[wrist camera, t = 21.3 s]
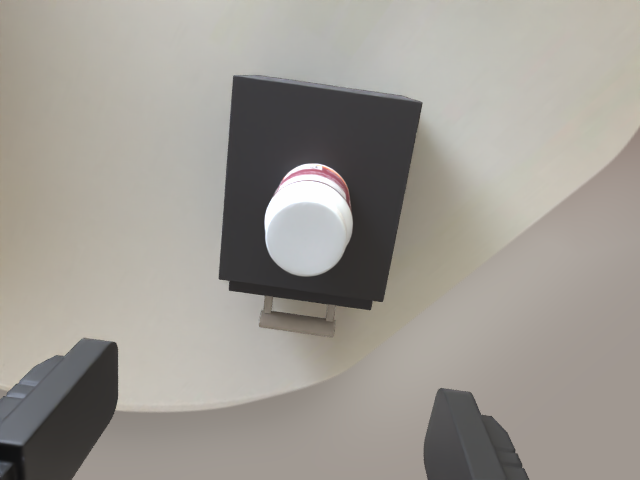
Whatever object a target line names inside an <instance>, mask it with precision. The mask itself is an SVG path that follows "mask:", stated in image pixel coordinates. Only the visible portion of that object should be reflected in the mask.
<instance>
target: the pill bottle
mask: <svg viewBox="0 0 640 480" xmlns="http://www.w3.org/2000/svg"><path fill="white" fill-rule="evenodd" d="M352 231H353V218H352V211H351V203H350V196H349V191H348V187H347V185H346V183H345V181H344V180H343V178H342V177H341V176H340V175H339V174H338V173H337V172H336V171H334V170H333V169H331V168H329V167H327V166H325V165H321V164H305V165H301V166H299V167H296V168H295V169H293V170H292V171H290V172H289V173H288V174H287V175H286V176H285V177H284V178H283V180H282V181H281V183H280V185H279V187H278V189H277V190H276V192H275V194H274V196H273V198H272V200H271V202H270V203H269V206H268V208H267V210H266V214H265V232H266V235H265V239H266V246H267V249H268V252H269V254H270V256H271V258H272V259H273V260H274V262H275V263H276V264H277V265H278V266H279V267H281V268H282V269H283V270H285V271H287V272H289V273H291V274H294V275H298V276H316V275H319V274H322V273H325V272H326V271H328V270H330V269H331V268H332V267H334V266H335V265H336V264H337V263H338V261H339V260H340V259H341V257H342V255H343V253H344V251H345V248H346V246H347V245H348V243H349V241H350V238H351V235H352Z"/></svg>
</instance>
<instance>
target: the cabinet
mask: <svg viewBox="0 0 640 480" xmlns="http://www.w3.org/2000/svg"><path fill="white" fill-rule="evenodd" d="M421 108H422V102H420V101H417V100H414V99H411V98H408V97H404V96H401V95H394V94H387V93H380V92H373V91H366V90H359V89H352V88H345V87H338V86H331V85H324V84H317V83H310V82H303V81H296V80H289V79H282V78H275V77H268V76H261V75H234V76H233V86H232V100H231V114H230V128H229V142H228V156H227V170H226V184H225V198H224V212H223V225H222V239H221V253H220V267H219V279H220V280H228V281H235V282H242V283H249V284H256V285H263V286H271V287H278V288H285V289H292V290H299V291H307V292H314V293H321V294H328V295H335V296H343V297H350V298H357V299H364V300H371V301H378V302H383V300H384V295H385V290H386V285H387V280H388V275H389V269H390V264H391V259H392V254H393V249H394V244H395V239H396V234H397V229H398V224H399V219H400V214H401V209H402V204H403V199H404V194H405V189H406V184H407V178H408V173H409V168H410V163H411V158H412V153H413V148H414V143H415V138H416V133H417V128H418V123H419V118H420V113H421ZM305 164H321V165H325V166H327V167H329V168H331V169H333V170H334V171H336V172H337V173H338V174H339V175H340V176H341V177H342V178H343V180H344V181H345V183H346V185H347V187H348V191H349V196H350V203H351V211H352V218H353V231H352V235H351V238H350V241H349V243H348V245H347V246H346V248H345V251H344V253H343V255H342V257H341V259H340V260H339V261H338V263H337V264H336V265H335V266H334V267H332V268H331V269H330V270H328V271H326V272H325V273H322V274H319V275H316V276H298V275H294V274H291V273H289V272H287V271H285V270H283V269H282V268H281V267H279V266H278V265H277V264H276V263H275V262H274V260H273V259H272V258H271V256H270V254H269V252H268V249H267V246H266V239H265V235H266V232H265V214H266V210H267V208H268V206H269V203H270V202H271V200H272V198H273V196H274V194H275V192H276V190H277V189H278V187H279V185H280V183H281V181H282V180H283V178H284V177H285V176H286V175H287V174H288V173H289V172H290V171H292V170H293V169H295V168H296V167H299V166H301V165H305Z"/></svg>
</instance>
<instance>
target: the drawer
mask: <svg viewBox="0 0 640 480" xmlns="http://www.w3.org/2000/svg"><path fill="white" fill-rule="evenodd" d="M229 291H236V292H243V293H250V294H258V295H265V301H264V310H262V311H261V314H260V320H259V327H262V328H269V329H276V330H283V331H291V332H298V333H305V334H312V335H320V336H327V337H333V336H334V331H335V320H333V319H334V313H335V307H336V305H337V306H344V307H351V308H358V309H366V310H371V307H372V302H373V301H371V300H364V299H357V298H350V297H343V296H335V295H328V294H321V293H314V292H307V291H299V290H292V289H285V288H278V287H271V286H263V285H256V284H249V283H242V282H235V281H229ZM273 297H279V298H286V299H294V300H301V301H308V302H315V303H322V304H328V307H327V313H326V318H318V317H311V316H304V315H297V314H290V313H282V312H275V311H271V310H272V302H273Z"/></svg>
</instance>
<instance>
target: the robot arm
mask: <svg viewBox="0 0 640 480" xmlns="http://www.w3.org/2000/svg"><path fill="white" fill-rule="evenodd" d="M117 400H118V347H117V344H116V343H115V342H111V341H103V340H96V339H89V338H83V339H81V340H80V341H79V342H78V343H77V344H76V345H75V346H74V347H73V348H72V349H71V350H70V351H69V352H68V353H67V354H66V355H65V356H58V355H56V356H54V357H52V358H50V359H48V360H46V361H44V362H42V363H40V364H38V365H36V366H35V367H34V368H33V369H31V370H30V371H29V372H28V373H27V374H26V375H25V376H24V377H23V378H22V379H21V380H20V382H19V384H16V385H15V386H14V387H13V388H12V389H11V390H10V391H9V392H7V395H6V396H3V398H1V399H0V480H72V478H73V477H74V475H75V473H76V472H77V471H78V469H79V468H80V466H81V465H82V463H83V461H84V460H85V458H86V457H87V455H88V454H89V452H90V451H91V449H92V448H93V446H94V445H95V443H96V442H97V440H98V439H99V437H100V436H101V434H102V433H103V431H104V430H105V428H106V427H107V425H108V424H109V422H110V420H111V419H112V417H113V414H114V412H115V409H116V405H117ZM424 464H425V469H426V474H427V478H428V480H529V478H528V476H527V473H526V472H525V469H524V468H522V463H521V461H520V459H519V457H518V454H516V453H515V448H514V446H513V444H512V442H511V440H510V438H509V435H508V433H507V432H506V431H505V430H504V429H503V428H502V427H501V426H500V425H499V423H498V422H497V421H496V420H495V419H494V418H493V417H492V416H486V415H481V413H480V411H479V409H478V406H477V404H476V401H475V399H474V397H473V395H472V393H471V392H466V391H459V390H452V389H444V388H440V389H439V390H438V392H437V394H436V397H435V402H434V406H433V409H432V413H431V417H430V421H429V425H428V429H427V433H426V437H425V442H424Z"/></svg>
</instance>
